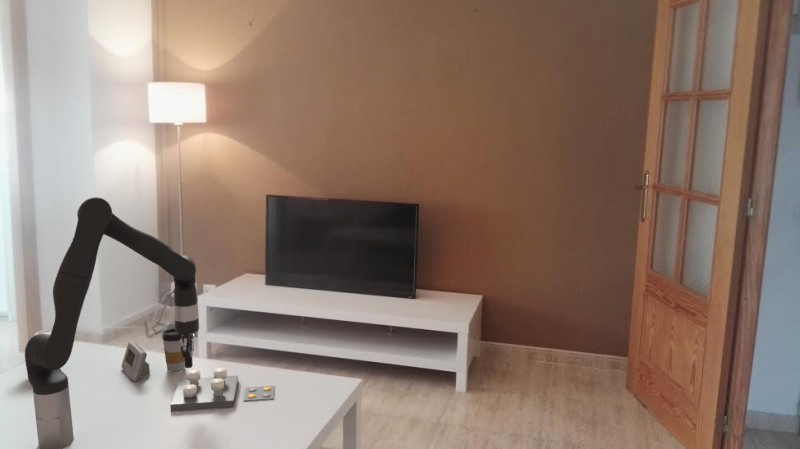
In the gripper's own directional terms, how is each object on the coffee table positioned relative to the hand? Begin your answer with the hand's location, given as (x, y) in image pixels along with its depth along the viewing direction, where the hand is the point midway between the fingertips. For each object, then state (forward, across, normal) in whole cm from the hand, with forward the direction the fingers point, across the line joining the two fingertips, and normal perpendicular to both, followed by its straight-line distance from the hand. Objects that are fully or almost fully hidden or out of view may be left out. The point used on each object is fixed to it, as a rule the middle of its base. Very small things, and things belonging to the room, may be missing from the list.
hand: (188, 367), depth 216 cm
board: (+13, -5, +4) cm, 15 cm away
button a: (+13, -1, 0) cm, 13 cm away
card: (+13, -4, +22) cm, 26 cm away
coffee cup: (+13, -30, -10) cm, 34 cm away
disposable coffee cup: (+13, -37, -56) cm, 68 cm away
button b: (+11, -1, +9) cm, 14 cm away
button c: (+11, -10, 0) cm, 15 cm away
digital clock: (+13, -28, -24) cm, 39 cm away
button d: (+11, -10, +9) cm, 17 cm away
